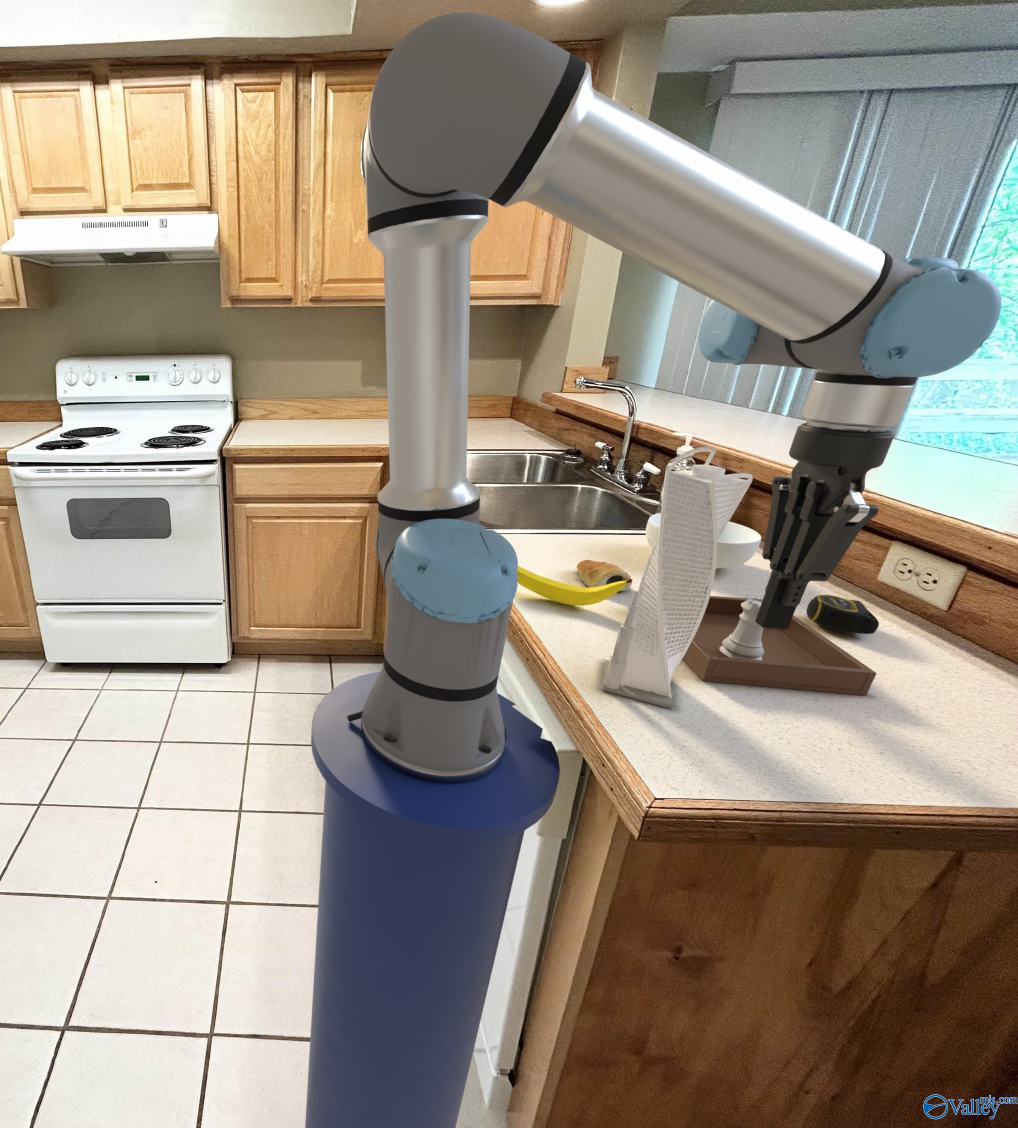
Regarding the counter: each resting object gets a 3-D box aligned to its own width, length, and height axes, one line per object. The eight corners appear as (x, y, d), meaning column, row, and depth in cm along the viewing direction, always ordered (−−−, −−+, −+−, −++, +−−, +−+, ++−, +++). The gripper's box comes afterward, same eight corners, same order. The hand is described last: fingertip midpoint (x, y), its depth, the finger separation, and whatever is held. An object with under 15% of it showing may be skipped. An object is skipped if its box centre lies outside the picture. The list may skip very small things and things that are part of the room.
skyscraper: (605, 657, 77) (663, 441, 66) (679, 676, 73) (753, 449, 62) (601, 689, 70) (665, 454, 59) (683, 711, 66) (766, 464, 55)
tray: (702, 680, 72) (709, 658, 71) (636, 609, 90) (641, 590, 89) (866, 695, 69) (877, 673, 68) (764, 618, 87) (771, 600, 86)
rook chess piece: (747, 669, 73) (769, 611, 70) (710, 652, 77) (729, 596, 74) (769, 661, 75) (791, 605, 72) (731, 645, 79) (750, 590, 76)
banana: (495, 582, 99) (501, 547, 96) (623, 615, 88) (634, 576, 85) (489, 588, 96) (495, 552, 94) (620, 622, 86) (631, 582, 83)
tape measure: (873, 643, 81) (884, 618, 79) (809, 630, 84) (819, 607, 82) (856, 622, 86) (867, 599, 85) (797, 611, 89) (806, 589, 88)
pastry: (564, 571, 103) (569, 550, 102) (601, 570, 104) (606, 550, 102) (594, 594, 95) (600, 572, 93) (635, 593, 95) (641, 572, 93)
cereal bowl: (754, 589, 97) (769, 549, 94) (637, 568, 105) (647, 530, 102) (743, 557, 110) (756, 521, 107) (640, 540, 118) (649, 506, 115)
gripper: (942, 437, 55) (846, 656, 64) (842, 417, 67) (772, 604, 76) (851, 434, 56) (769, 650, 65) (768, 415, 68) (708, 599, 77)
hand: (771, 625), depth 70 cm, fingers closed
